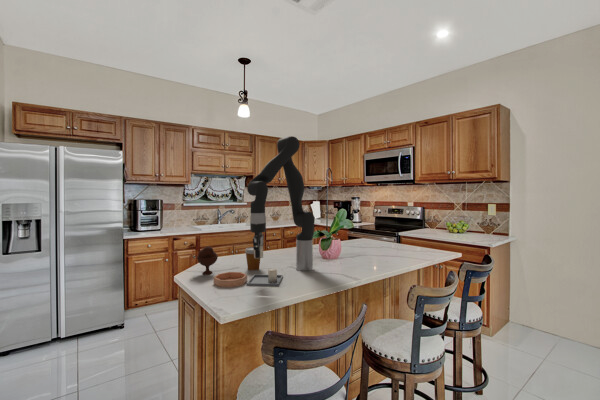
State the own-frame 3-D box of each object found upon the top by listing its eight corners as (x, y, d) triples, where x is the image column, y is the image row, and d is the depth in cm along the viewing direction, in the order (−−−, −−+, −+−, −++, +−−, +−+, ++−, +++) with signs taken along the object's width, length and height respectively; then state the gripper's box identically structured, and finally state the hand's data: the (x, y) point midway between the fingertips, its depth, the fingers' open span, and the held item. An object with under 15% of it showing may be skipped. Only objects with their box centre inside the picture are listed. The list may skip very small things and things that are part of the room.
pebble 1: (255, 256, 148) (255, 245, 148) (264, 256, 148) (263, 245, 148) (253, 258, 144) (253, 247, 144) (262, 258, 143) (262, 247, 143)
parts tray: (254, 277, 154) (254, 274, 154) (282, 278, 153) (282, 275, 153) (246, 286, 139) (246, 283, 139) (278, 287, 138) (278, 284, 138)
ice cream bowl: (221, 271, 165) (221, 244, 165) (210, 277, 155) (210, 248, 154) (204, 270, 168) (204, 243, 168) (192, 275, 158) (192, 247, 157)
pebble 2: (268, 279, 148) (268, 268, 148) (277, 279, 147) (277, 268, 147) (267, 282, 143) (267, 271, 143) (276, 282, 143) (276, 271, 143)
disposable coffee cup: (259, 272, 164) (259, 250, 164) (242, 271, 166) (242, 250, 165) (263, 267, 174) (263, 247, 173) (248, 267, 175) (248, 246, 175)
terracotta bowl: (221, 278, 152) (221, 271, 152) (249, 279, 151) (249, 272, 151) (210, 287, 137) (210, 280, 137) (241, 288, 136) (241, 280, 136)
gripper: (253, 220, 153) (254, 253, 153) (246, 223, 138) (247, 260, 139) (268, 220, 152) (269, 253, 153) (262, 223, 138) (263, 260, 138)
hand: (258, 256), depth 146 cm, fingers closed on pebble 1, 4 cm apart
